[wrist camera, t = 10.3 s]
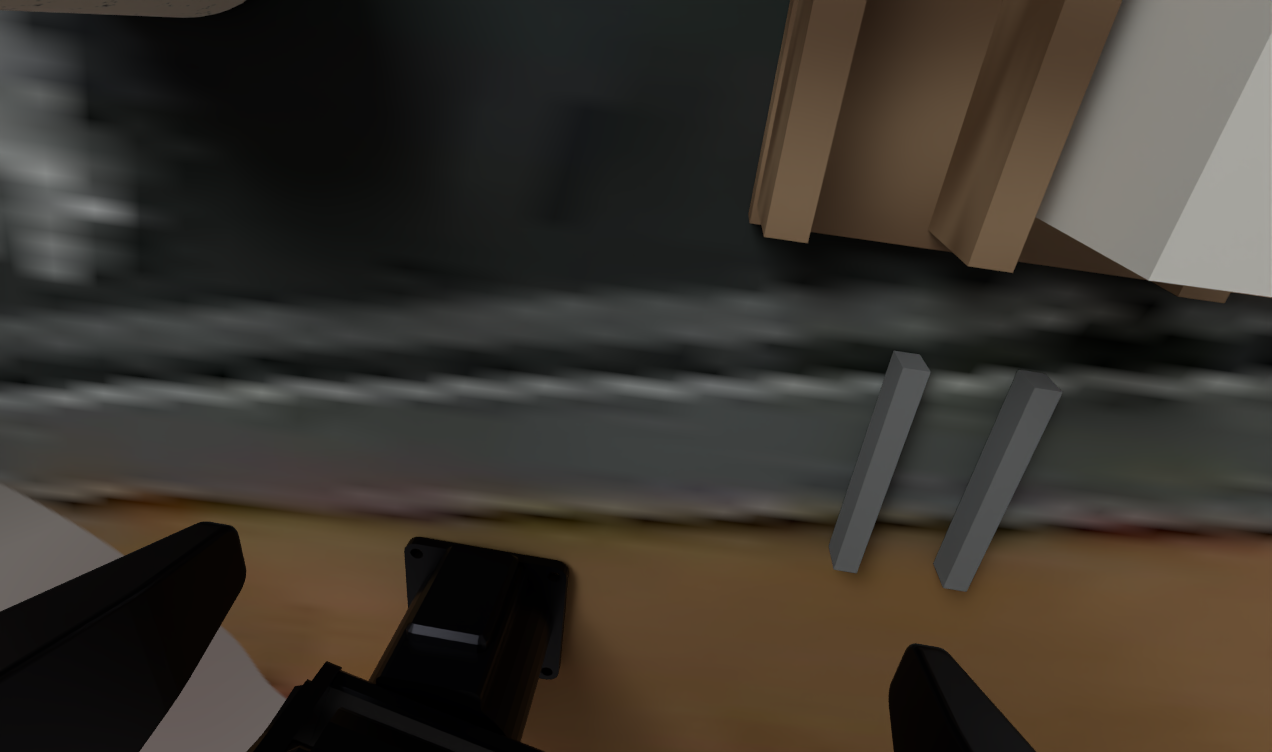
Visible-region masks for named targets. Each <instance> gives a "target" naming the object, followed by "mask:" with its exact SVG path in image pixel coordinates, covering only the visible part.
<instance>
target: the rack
mask: <svg viewBox="0 0 1272 752" xmlns="http://www.w3.org/2000/svg"><path fill="white" fill-rule="evenodd" d="M1121 3H1122V0H790V4H789V9H788V15H787V20H786V25H785V30H784V35H783V40H782V45H781V50H780V56H779V61H778V66H777V71H776V76H775V81H774V86H773V91H772V96H771V102H770V107H769V112H768V117H767V122H766V127H765V132H764V137H763V143H762V148H761V153H760V158H759V163H758V168H757V173H756V178H755V183H754V189H753V194H752V199H751V204H750V209H749V214H748V215H749V222H750V223H752V224H759V225H761V226H762V230H763V235H764V237H768V238H775V239H782V240H789V241H796V242H803V243H808V240H809V236H810V232H815V233H822V234H829V235H836V236H843V237H850V238H857V239H863V240H870V241H877V242H884V243H891V244H898V245H905V246H912V247H919V248H926V249H933V250H940V251H947V252H953V253H954V254H955V255H956V256H957V257H958V258H959V259H960V260H961V261H963V262H964V263H965V264H966V265H967V266H969V267H976V268H983V269H990V270H997V271H1004V272H1011V273H1013V271H1014V269H1015V266H1016V264H1017V262H1024V263H1031V264H1038V265H1045V266H1052V267H1059V268H1066V269H1073V270H1080V271H1087V272H1094V273H1101V274H1108V275H1115V276H1122V277H1129V278H1136V279H1143V280H1147V279H1145V278H1143V277H1142V276H1140V275H1138V274H1136V273H1134V272H1133V271H1131V270H1129V269H1127V268H1126V267H1124V266H1122V265H1120V264H1118V263H1117V262H1115V261H1113V260H1111V259H1109V258H1108V257H1106V256H1104V255H1102V254H1101V253H1099V252H1097V251H1095V250H1093V249H1092V248H1090V247H1088V246H1086V245H1085V244H1083V243H1081V242H1079V241H1077V240H1076V239H1074V238H1072V237H1070V236H1069V235H1067V234H1065V233H1063V232H1061V231H1060V230H1058V229H1056V228H1054V227H1052V226H1051V225H1049V224H1047V223H1045V222H1044V221H1042V220H1040V219H1038V218H1036V214H1037V212H1038V209H1039V207H1040V204H1041V202H1042V199H1043V197H1044V194H1045V192H1046V189H1047V187H1048V184H1049V182H1050V179H1051V177H1052V174H1053V172H1054V169H1055V167H1056V164H1057V162H1058V159H1059V157H1060V154H1061V152H1062V149H1063V147H1064V144H1065V142H1066V139H1067V137H1068V134H1069V132H1070V129H1071V127H1072V124H1073V122H1074V120H1075V117H1076V115H1077V112H1078V110H1079V107H1080V105H1081V102H1082V100H1083V97H1084V95H1085V92H1086V90H1087V87H1088V85H1089V82H1090V80H1091V77H1092V75H1093V72H1094V70H1095V67H1096V65H1097V62H1098V60H1099V57H1100V55H1101V52H1102V50H1103V47H1104V45H1105V42H1106V40H1107V37H1108V35H1109V32H1110V30H1111V27H1112V25H1113V22H1114V20H1115V17H1116V15H1117V13H1118V10H1119V8H1120V5H1121ZM1151 282H1153V283H1155V284H1156V285H1158V286H1160V287H1162V288H1164V289H1165V290H1167V291H1169V292H1171V293H1172V294H1174V295H1176V296H1178V297H1184V298H1191V299H1198V300H1205V301H1212V302H1219V303H1225V301H1226V300H1227V298H1228V296H1229V294H1230V293H1231V292H1230V291H1223V290H1215V289H1208V288H1201V287H1193V286H1186V285H1179V284H1171V283H1164V282H1157V281H1151ZM1233 293H1237V292H1233ZM1240 294H1245V293H1240ZM1247 295H1252V294H1247ZM1254 296H1259V295H1254ZM1261 297H1267V296H1261ZM1268 298H1272V297H1268Z"/></svg>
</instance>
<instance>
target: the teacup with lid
mask: <svg viewBox="0 0 1272 752" xmlns="http://www.w3.org/2000/svg"><path fill="white" fill-rule="evenodd" d="M245 1H246V0H0V10H10V11H34V12H58V13H82V14H106V15H130V16H154V17H178V18H191V17H202V16H208V15H213V14H218V13H221V12H224V11H227V10H230V9H232V8H234V7H236V6H238V5H240V4H242V3H243V2H245Z"/></svg>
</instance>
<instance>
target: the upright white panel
mask: <svg viewBox="0 0 1272 752" xmlns="http://www.w3.org/2000/svg"><path fill="white" fill-rule="evenodd" d="M1036 218H1038V219H1040V220H1042V221H1044V222H1045V223H1047V224H1049V225H1051V226H1052V227H1054V228H1056V229H1058V230H1060V231H1061V232H1063V233H1065V234H1067V235H1069V236H1070V237H1072V238H1074V239H1076V240H1077V241H1079V242H1081V243H1083V244H1085V245H1086V246H1088V247H1090V248H1092V249H1093V250H1095V251H1097V252H1099V253H1101V254H1102V255H1104V256H1106V257H1108V258H1109V259H1111V260H1113V261H1115V262H1117V263H1118V264H1120V265H1122V266H1124V267H1126V268H1127V269H1129V270H1131V271H1133V272H1134V273H1136V274H1138V275H1140V276H1142V277H1143V278H1145V279H1147V280H1149V281H1157V282H1164V283H1171V284H1179V285H1186V286H1193V287H1201V288H1208V289H1215V290H1223V291H1230V292H1237V293H1245V294H1252V295H1259V296H1267V297H1272V0H1122V3H1121V5H1120V8H1119V10H1118V13H1117V15H1116V17H1115V20H1114V22H1113V25H1112V27H1111V30H1110V32H1109V35H1108V37H1107V40H1106V42H1105V45H1104V47H1103V50H1102V52H1101V55H1100V57H1099V60H1098V62H1097V65H1096V67H1095V70H1094V72H1093V75H1092V77H1091V80H1090V82H1089V85H1088V87H1087V90H1086V92H1085V95H1084V97H1083V100H1082V102H1081V105H1080V107H1079V110H1078V112H1077V115H1076V117H1075V120H1074V122H1073V124H1072V127H1071V129H1070V132H1069V134H1068V137H1067V139H1066V142H1065V144H1064V147H1063V149H1062V152H1061V154H1060V157H1059V159H1058V162H1057V164H1056V167H1055V169H1054V172H1053V174H1052V177H1051V179H1050V182H1049V184H1048V187H1047V189H1046V192H1045V194H1044V197H1043V199H1042V202H1041V204H1040V207H1039V209H1038V212H1037V214H1036Z"/></svg>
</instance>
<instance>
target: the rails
mask: <svg viewBox="0 0 1272 752" xmlns="http://www.w3.org/2000/svg"><path fill="white" fill-rule="evenodd" d="M929 375H930V370H929V369H928V367H927V365H926V364H925V362H924V361H923V359H922V358H921V356H920V355H919V354H912V353H906V352H899V351H893V354H892V357H891V360H890V363H889V366H888V369H887V372H886V375H885V378H884V381H883V384H882V387H881V390H880V393H879V396H878V399H877V402H876V405H875V408H874V411H873V414H872V417H871V420H870V423H869V426H868V429H867V432H866V435H865V438H864V441H863V444H862V447H861V450H860V453H859V456H858V459H857V462H856V465H855V468H854V471H853V474H852V477H851V480H850V483H849V486H848V489H847V492H846V496H845V499H844V502H843V505H842V508H841V511H840V514H839V517H838V520H837V523H836V526H835V529H834V532H833V535H832V538H831V541H830V544H829V550H830V554H831V559H832V564H833V569H834V570H840V571H846V572H851V573H857V571H858V568H859V566H860V563H861V560H862V557H863V555H864V552H865V549H866V546H867V544H868V541H869V538H870V536H871V533H872V530H873V527H874V525H875V522H876V519H877V517H878V514H879V511H880V508H881V506H882V503H883V500H884V497H885V495H886V492H887V489H888V487H889V484H890V481H891V478H892V476H893V473H894V470H895V468H896V465H897V462H898V459H899V457H900V454H901V451H902V449H903V446H904V443H905V440H906V438H907V435H908V432H909V429H910V427H911V424H912V421H913V419H914V416H915V413H916V410H917V408H918V405H919V402H920V400H921V397H922V394H923V391H924V389H925V386H926V383H927V381H928V378H929ZM1062 393H1063V392H1062V391H1061V390H1060V389H1059V388H1058V387H1057V386H1056V385H1055V384H1054V383H1053V382H1052V381H1051V379H1050V378H1049V377H1048V376H1047V375H1046V374H1045V373H1038V372H1032V371H1025V370H1018V371H1017V373H1016V376H1015V378H1014V380H1013V382H1012V385H1011V387H1010V389H1009V392H1008V394H1007V396H1006V398H1005V401H1004V403H1003V405H1002V408H1001V410H1000V412H999V414H998V417H997V419H996V421H995V424H994V426H993V428H992V430H991V433H990V435H989V437H988V440H987V442H986V444H985V446H984V449H983V451H982V453H981V456H980V458H979V460H978V462H977V465H976V467H975V469H974V472H973V474H972V476H971V478H970V481H969V483H968V485H967V488H966V490H965V492H964V494H963V497H962V499H961V501H960V504H959V506H958V508H957V510H956V513H955V515H954V517H953V520H952V522H951V524H950V526H949V529H948V531H947V533H946V536H945V538H944V540H943V542H942V545H941V547H940V549H939V552H938V554H937V556H936V558H935V561H934V563H933V564H934V567H935V569H936V571H937V574H938V576H939V579H940V581H941V584H942V586H943V588H947V589H953V590H959V591H965V592H967V590H968V588H969V586H970V583H971V581H972V579H973V577H974V575H975V573H976V571H977V569H978V567H979V565H980V563H981V561H982V559H983V557H984V554H985V552H986V550H987V548H988V546H989V544H990V542H991V540H992V538H993V536H994V534H995V532H996V530H997V528H998V525H999V523H1000V521H1001V519H1002V517H1003V515H1004V513H1005V511H1006V509H1007V507H1008V505H1009V503H1010V501H1011V498H1012V496H1013V494H1014V492H1015V490H1016V488H1017V486H1018V484H1019V482H1020V480H1021V478H1022V476H1023V474H1024V472H1025V469H1026V467H1027V465H1028V463H1029V461H1030V459H1031V457H1032V455H1033V453H1034V451H1035V449H1036V447H1037V445H1038V442H1039V440H1040V438H1041V436H1042V434H1043V432H1044V430H1045V428H1046V426H1047V424H1048V422H1049V420H1050V418H1051V416H1052V413H1053V411H1054V409H1055V407H1056V405H1057V403H1058V401H1059V399H1060V397H1061V395H1062Z"/></svg>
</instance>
